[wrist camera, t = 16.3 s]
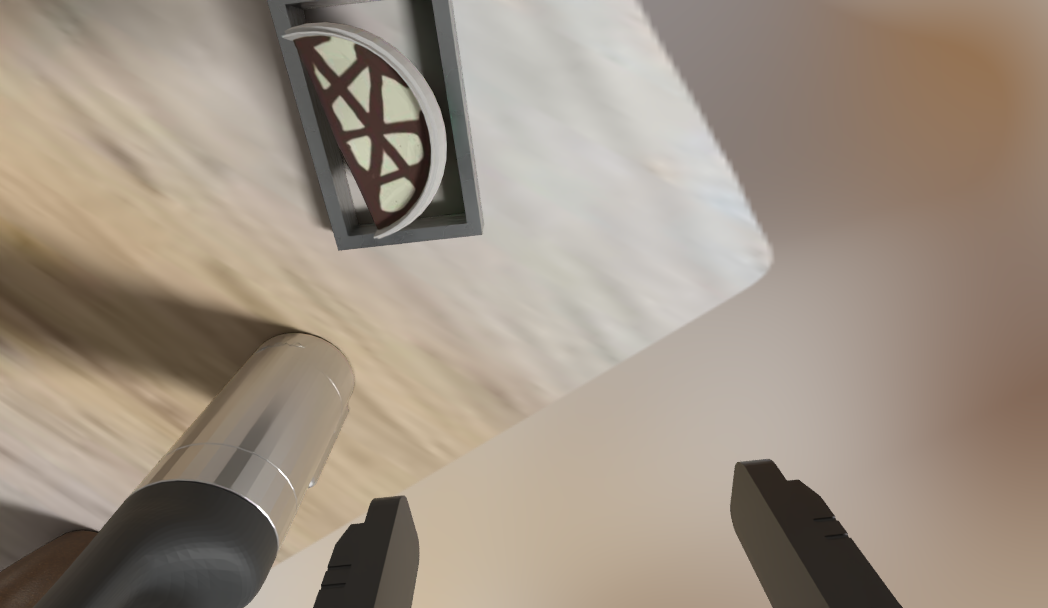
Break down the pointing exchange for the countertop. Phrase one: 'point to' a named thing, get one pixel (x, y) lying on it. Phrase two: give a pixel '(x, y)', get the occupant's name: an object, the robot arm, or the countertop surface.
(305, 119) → the collar
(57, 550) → the plant pot
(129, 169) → the countertop surface
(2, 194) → the countertop surface
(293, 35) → the food container
